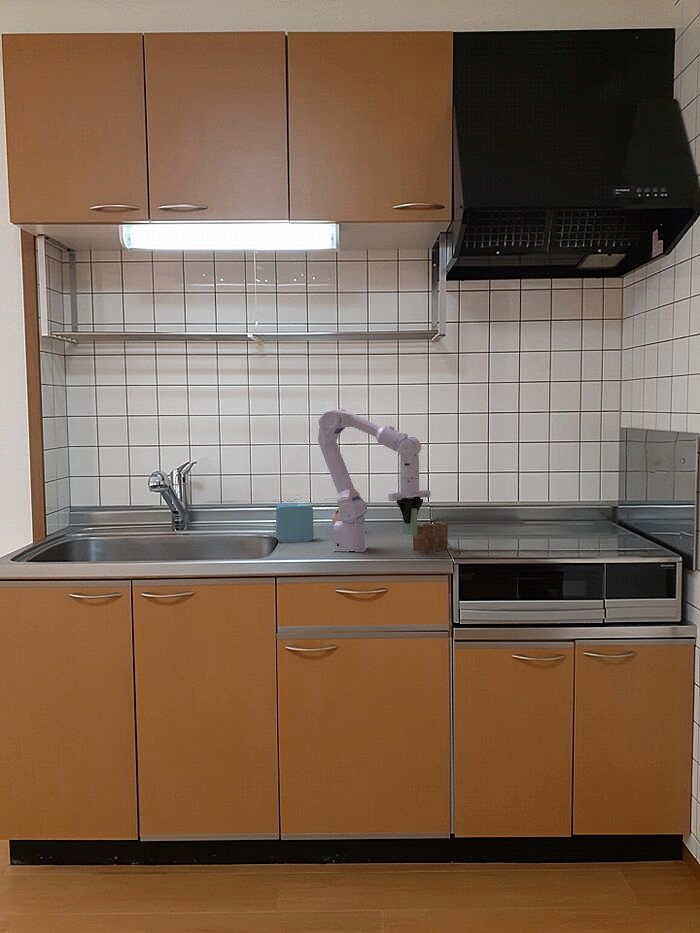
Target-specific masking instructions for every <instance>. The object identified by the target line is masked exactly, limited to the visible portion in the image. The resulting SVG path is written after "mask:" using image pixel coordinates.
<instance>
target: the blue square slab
mask: <svg viewBox="0 0 700 933" xmlns="http://www.w3.org/2000/svg"><path fill="white" fill-rule="evenodd" d="M275 528H276V529H275V532H276V539H277V541H278V542H279V543H301V542H305V541H307V542H312V541H313V540H314V536H315V535H314V508H313V507H312V505H311V504H310V503H290V504H289V503H287V504H284V503H282V504H278V505H277V506H276V507H275ZM305 543H306V542H305Z"/></svg>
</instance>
